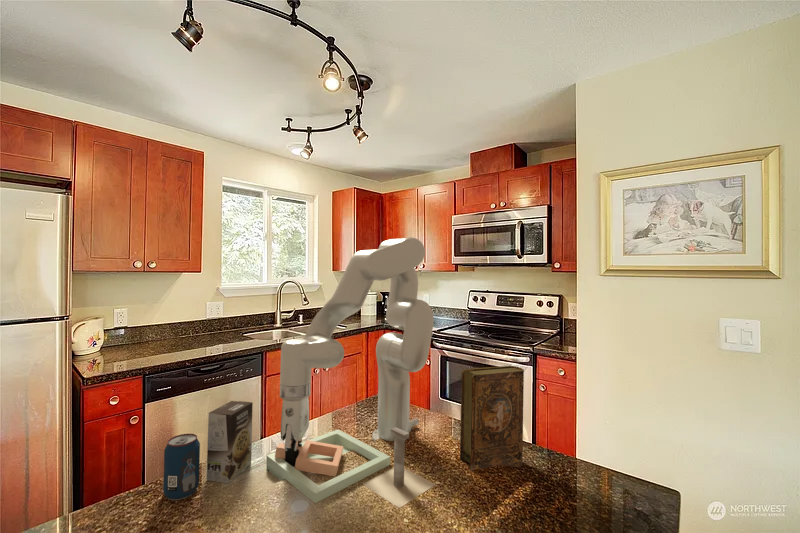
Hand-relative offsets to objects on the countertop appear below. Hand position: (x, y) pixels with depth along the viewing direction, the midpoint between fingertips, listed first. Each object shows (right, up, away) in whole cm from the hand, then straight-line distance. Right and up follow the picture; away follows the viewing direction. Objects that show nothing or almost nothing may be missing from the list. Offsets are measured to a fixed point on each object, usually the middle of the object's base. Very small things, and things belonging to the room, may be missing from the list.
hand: (293, 462), depth 93 cm
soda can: (-22, -2, -10) cm, 24 cm away
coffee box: (-15, -2, -1) cm, 15 cm away
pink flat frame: (+4, 0, 0) cm, 4 cm away
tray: (+9, -2, 0) cm, 9 cm away
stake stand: (+27, -2, -8) cm, 28 cm away
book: (+51, -3, +4) cm, 51 cm away
